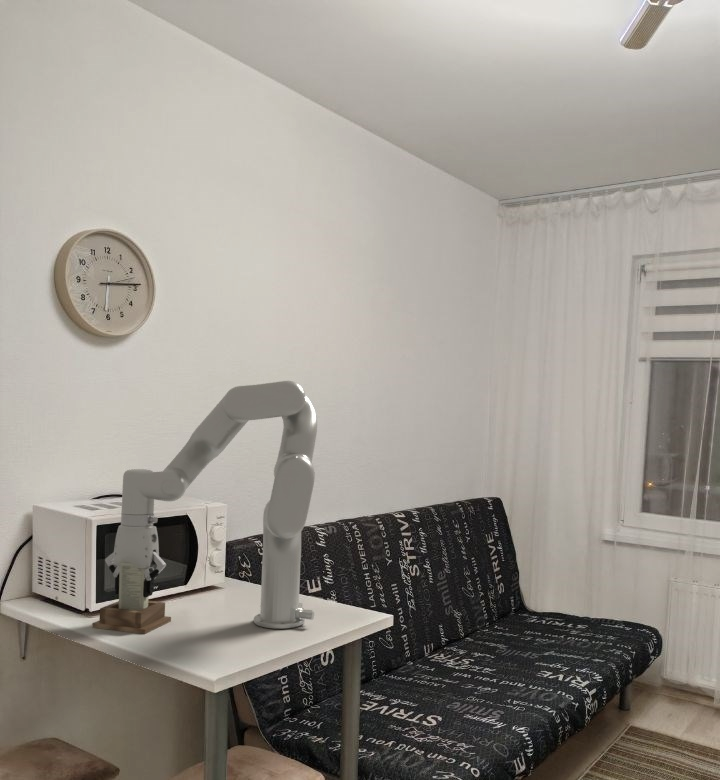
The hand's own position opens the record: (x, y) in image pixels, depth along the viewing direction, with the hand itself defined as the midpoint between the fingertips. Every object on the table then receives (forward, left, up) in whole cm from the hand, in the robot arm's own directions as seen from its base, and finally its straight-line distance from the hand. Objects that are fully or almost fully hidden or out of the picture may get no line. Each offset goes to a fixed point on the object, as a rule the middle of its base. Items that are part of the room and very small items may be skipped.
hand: (133, 593), depth 187 cm
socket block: (0, 0, -7) cm, 7 cm away
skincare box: (0, 0, -4) cm, 4 cm away
